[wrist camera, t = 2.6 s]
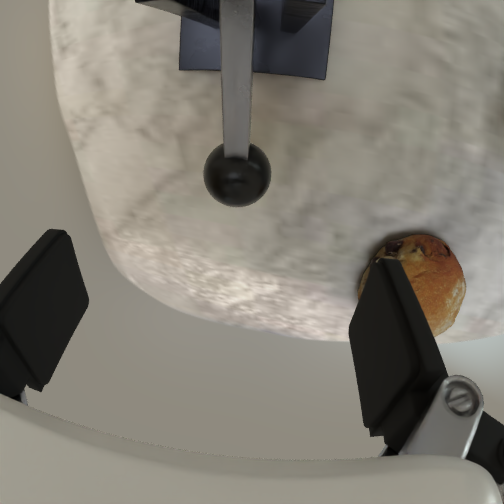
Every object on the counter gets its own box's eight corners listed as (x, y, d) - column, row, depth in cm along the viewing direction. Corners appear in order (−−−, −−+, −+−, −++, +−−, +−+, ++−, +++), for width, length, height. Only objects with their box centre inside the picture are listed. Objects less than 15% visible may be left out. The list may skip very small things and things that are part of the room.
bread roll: (355, 290, 32) (371, 363, 28) (343, 244, 24) (368, 344, 20) (440, 264, 30) (463, 334, 26) (456, 209, 21) (494, 302, 17)
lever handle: (270, 174, 18) (266, 223, 16) (211, 169, 18) (201, 217, 17) (298, -84, 6) (302, -86, 4) (197, -85, 6) (166, -84, 4)
